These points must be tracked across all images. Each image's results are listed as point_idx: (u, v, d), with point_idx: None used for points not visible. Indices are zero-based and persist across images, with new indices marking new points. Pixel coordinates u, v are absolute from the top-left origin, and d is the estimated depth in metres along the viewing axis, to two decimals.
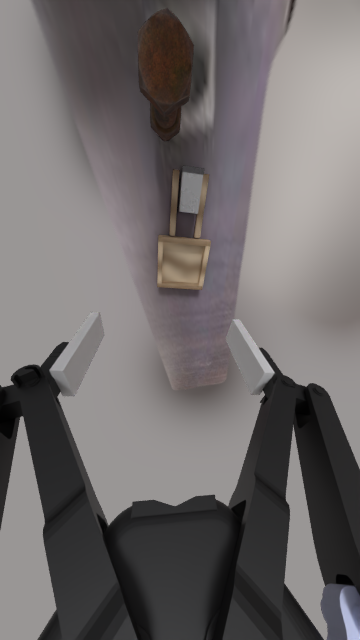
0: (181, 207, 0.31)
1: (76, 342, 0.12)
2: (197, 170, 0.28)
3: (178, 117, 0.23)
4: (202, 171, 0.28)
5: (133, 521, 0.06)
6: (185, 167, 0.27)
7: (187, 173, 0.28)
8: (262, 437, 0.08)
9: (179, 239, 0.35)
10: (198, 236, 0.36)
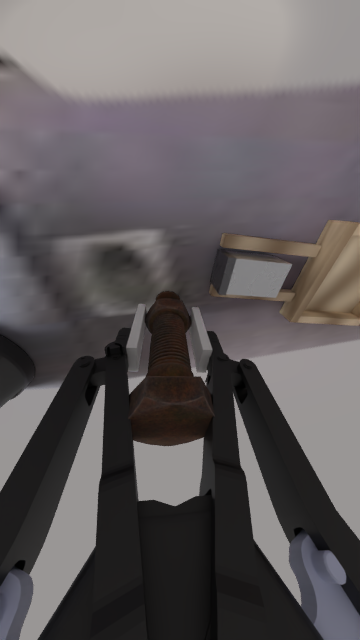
0: (271, 294, 0.17)
1: (137, 327, 0.14)
2: (228, 270, 0.15)
3: (172, 309, 0.16)
4: (231, 261, 0.15)
5: None
6: (221, 290, 0.16)
7: (229, 286, 0.16)
8: (212, 419, 0.08)
9: (310, 290, 0.19)
10: (317, 248, 0.18)
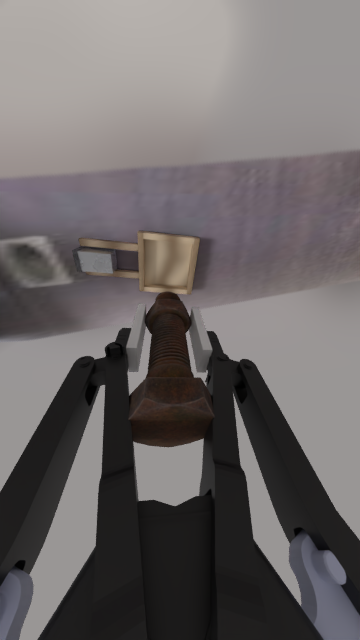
0: (109, 271, 0.31)
1: (137, 327, 0.14)
2: (76, 257, 0.29)
3: (172, 310, 0.16)
4: (75, 252, 0.29)
5: None
6: (77, 268, 0.31)
7: (81, 266, 0.30)
8: (212, 419, 0.08)
9: (139, 270, 0.33)
10: (135, 246, 0.32)
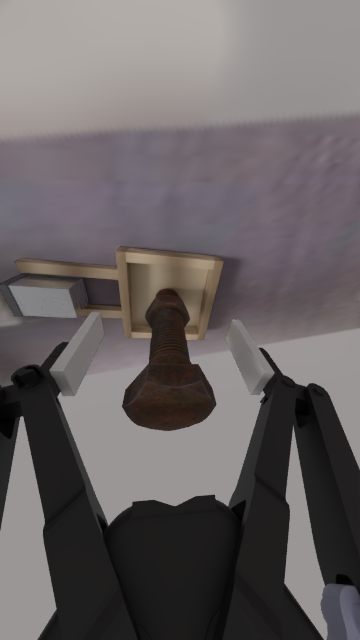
0: (69, 315, 0.19)
1: (76, 342, 0.12)
2: (6, 295, 0.17)
3: (171, 305, 0.16)
4: (3, 288, 0.16)
5: (133, 521, 0.06)
6: (14, 312, 0.18)
7: (20, 309, 0.18)
8: (262, 437, 0.08)
9: (123, 309, 0.20)
10: (115, 272, 0.19)
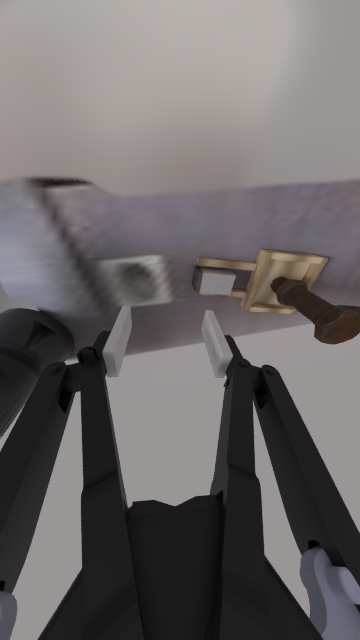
0: (226, 293, 0.29)
1: (117, 330, 0.13)
2: (199, 279, 0.27)
3: (302, 285, 0.27)
4: (200, 274, 0.27)
5: (133, 521, 0.06)
6: (196, 290, 0.28)
7: (200, 288, 0.28)
8: (229, 422, 0.08)
9: (253, 290, 0.31)
10: (254, 265, 0.29)
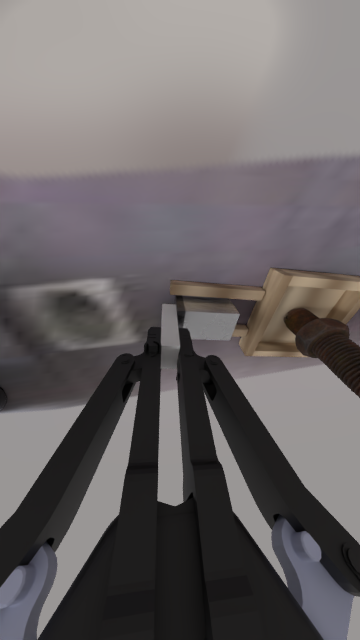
0: (225, 338, 0.18)
1: (166, 326, 0.14)
2: (179, 320, 0.16)
3: (341, 330, 0.16)
4: (181, 314, 0.16)
5: None
6: None
7: None
8: (186, 419, 0.08)
9: (259, 330, 0.20)
10: (261, 293, 0.19)
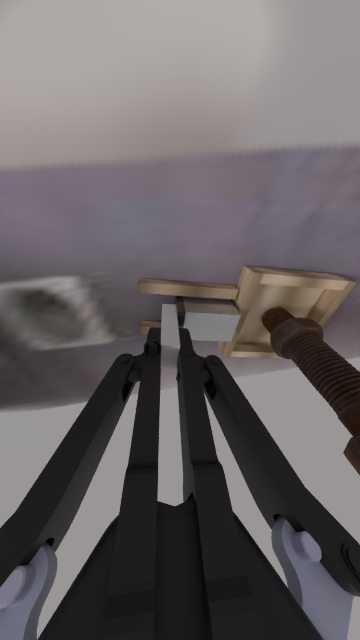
0: (225, 339, 0.18)
1: (166, 326, 0.14)
2: (180, 321, 0.16)
3: (313, 330, 0.15)
4: (181, 314, 0.16)
5: None
6: None
7: None
8: (186, 419, 0.08)
9: None
10: (234, 292, 0.18)
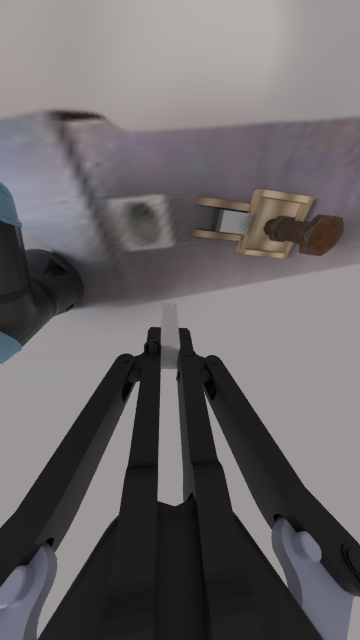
0: (243, 232, 0.33)
1: (166, 326, 0.14)
2: (220, 216, 0.31)
3: (290, 218, 0.30)
4: (221, 211, 0.30)
5: None
6: (217, 229, 0.32)
7: (221, 226, 0.32)
8: (186, 419, 0.08)
9: (247, 231, 0.34)
10: (248, 206, 0.33)
